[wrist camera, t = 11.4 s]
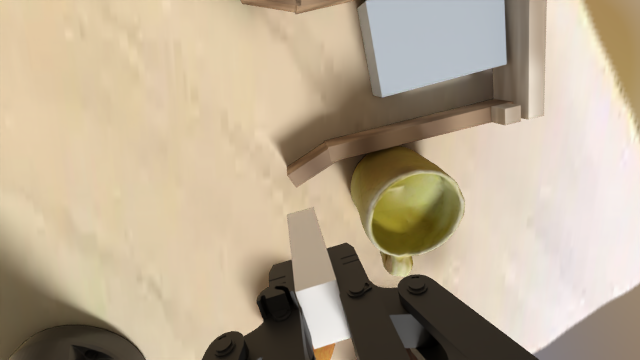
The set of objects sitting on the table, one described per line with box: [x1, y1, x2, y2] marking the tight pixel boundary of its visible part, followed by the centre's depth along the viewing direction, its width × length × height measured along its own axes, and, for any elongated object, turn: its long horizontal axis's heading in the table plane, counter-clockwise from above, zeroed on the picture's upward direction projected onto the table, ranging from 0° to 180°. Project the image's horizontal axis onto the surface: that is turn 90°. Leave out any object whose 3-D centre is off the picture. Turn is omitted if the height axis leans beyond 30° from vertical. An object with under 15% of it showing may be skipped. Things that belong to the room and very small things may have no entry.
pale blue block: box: [357, 0, 507, 97], centre depth 29 cm, size 12×8×4 cm, turn 104°
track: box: [241, 0, 547, 187], centre depth 28 cm, size 24×18×5 cm
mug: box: [351, 146, 465, 277], centre depth 32 cm, size 12×10×10 cm
